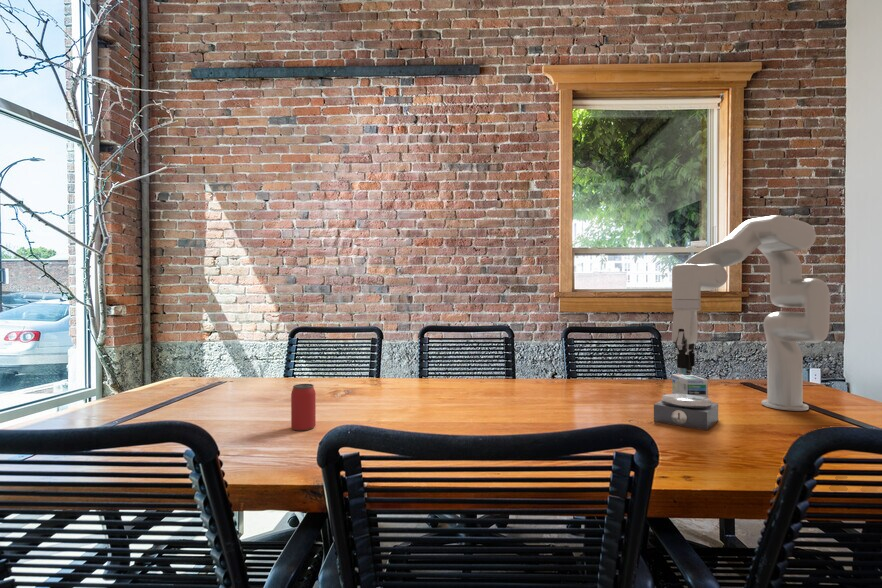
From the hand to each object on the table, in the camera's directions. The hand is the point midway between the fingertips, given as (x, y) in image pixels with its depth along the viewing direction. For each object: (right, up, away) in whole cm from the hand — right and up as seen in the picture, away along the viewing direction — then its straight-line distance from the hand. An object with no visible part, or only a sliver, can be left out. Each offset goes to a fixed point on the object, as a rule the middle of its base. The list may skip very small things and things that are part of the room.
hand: (685, 366), depth 139 cm
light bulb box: (+8, -16, +14) cm, 23 cm away
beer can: (-111, -17, -7) cm, 113 cm away
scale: (0, -16, 0) cm, 16 cm away
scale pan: (0, -11, 0) cm, 11 cm away
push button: (0, -3, 0) cm, 3 cm away
